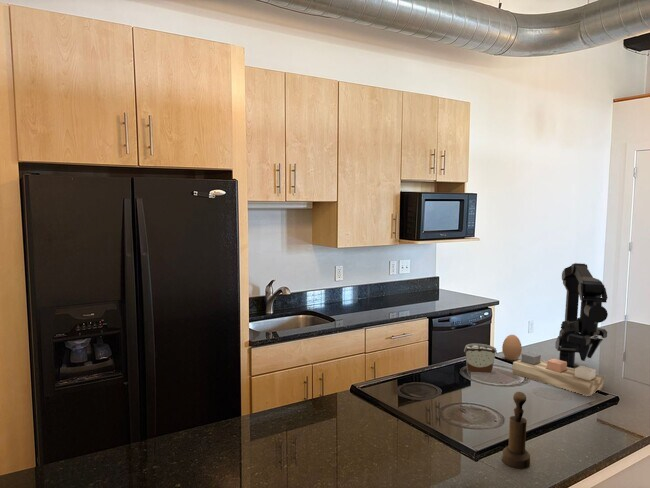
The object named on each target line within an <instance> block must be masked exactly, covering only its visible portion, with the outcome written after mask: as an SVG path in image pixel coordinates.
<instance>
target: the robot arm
mask: <svg viewBox="0 0 650 488" xmlns="http://www.w3.org/2000/svg"><path fill="white" fill-rule="evenodd" d="M561 280H562V285H563V286H564V288H565V290H566V297H565V310H564V312H565V313H564V320H563V321H562V322H561V324H560V330H559V335H558V336H557V338H556V341H555V346H554V347H555V349H556V351H557V352H559V357H558V360H562V361H565V362H567V367H569V368H573V369H575V368H577V367H579V365H578V364H577V363H575V361H576V353H578V354H579V358H580V360H581V361H583V362H585V361H586V360H587V358H588V359H592V358H593V356H594V354H595V352H596V350H597V349H598V347H599V346H600V344H601V343H602V342H603V341H604V339H606V338H607V337H608V331H607V330H606V329H605V328H602V327H599V323H603V322H605V321H606V320H607V318H608V316H609V315H608V310H607V309H606V308H605V306H602V305H603V304H604V303H605V304H606V303H607V300H608V294H607V288H606V287H605V285H604V283H603V281H602V280H600V279H598V278H595V277H594V276H593V275H592V273H591V272H590V270H589V269H588V264H586V263H579V262H578V263H577V262H574V263H571V265H569V266H567V267H565V268H563V270H562V272H561ZM579 300H580V309H579ZM579 310H580V313H579ZM578 313H579V314H578ZM578 315H579V317H578ZM599 336H600V337H601V338H600V337H599Z"/></svg>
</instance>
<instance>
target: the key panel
mask: <svg viewBox="0 0 650 488" xmlns="http://www.w3.org/2000/svg"><path fill="white" fill-rule="evenodd" d="M521 360H522V358H521V359H517V360H514V361H513V362H512V371H511V372H512V373H513V374H512V373H511V374H512V375H515V374H516V375H517V376H518V377H519V376H520V377H521V378H525V377H526V378H525V379H528V378H529V380H532V381H535V380H536V381H535V382H538V381H540V382H539V383H541V382H543V383H542V384H545V383H547V384H546V385H548V384H550V385H549V386H551V385H554V386H557V387H556V388H558V387H560V388H559V389H561V388H563V389H562V390H564V389H566V390H565V391H567V390H569V391H568V392H571V391H572V392H571V393H574V392H576V393H575V394H577V393H580V394H584V395H588V396H589V395H591V394H592V393H594V392H596V391H597V390H601V391H602V390H604V379H605V377H604V376H603V375H598V374H596V375H595V378H594V379H592V380H590V381H588V380H585V379H581V378H578V377H574V376H575V368H569V367H567V370H565V371H563V372H557V371H553V370H550V369H547V361H548V360H547V361H546V360H542V359H540V363H538V364H535V365H532V364H528V363H525V362H521ZM516 375H515V376H516ZM554 386H553V387H554ZM580 394H579V395H580ZM584 395H583V396H584ZM591 396H592V395H591Z"/></svg>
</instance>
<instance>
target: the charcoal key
mask: <svg viewBox="0 0 650 488" xmlns="http://www.w3.org/2000/svg"><path fill="white" fill-rule="evenodd" d="M541 356H542V355H541V354H538V353H535V352H530V351H526V352H524V353H521V359H522V360H521V362H525V363H528V364H532V365H535V364H538V363H540V360H542V359H541Z"/></svg>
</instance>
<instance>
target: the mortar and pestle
mask: <svg viewBox="0 0 650 488" xmlns="http://www.w3.org/2000/svg"><path fill="white" fill-rule="evenodd" d="M512 399H513V401H514V404H515V408H514V409H513V412H514V415H511V416H509V428H508V446H505V448H503V449H502V457H501V459H502V461H503V463H504V464H506V465H507V466H510V467H512V468H515V469H525V468H528V467H530V465H531V454H530V453H529V452H528V451H527V450H526V440H527V438H526V437H527V421H528V420H527V419H526V418H525V417H523V416H524V412H525V410H524V409H523V406H524V405H525V403H526V401H527V395H526V394H525V393H524V392H521V391H515V392H514V394H513V398H512Z"/></svg>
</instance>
